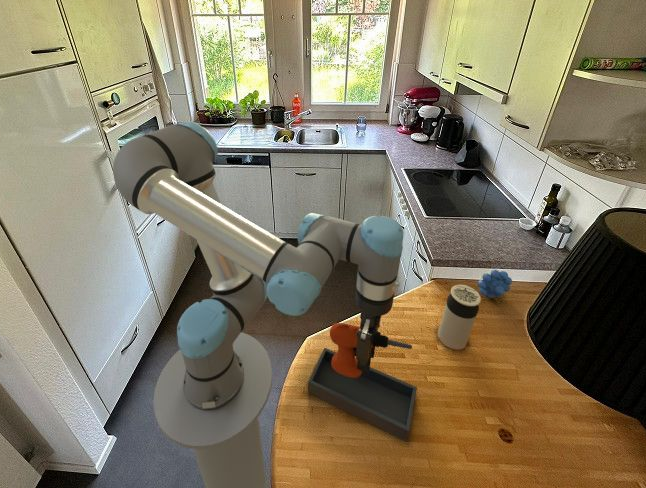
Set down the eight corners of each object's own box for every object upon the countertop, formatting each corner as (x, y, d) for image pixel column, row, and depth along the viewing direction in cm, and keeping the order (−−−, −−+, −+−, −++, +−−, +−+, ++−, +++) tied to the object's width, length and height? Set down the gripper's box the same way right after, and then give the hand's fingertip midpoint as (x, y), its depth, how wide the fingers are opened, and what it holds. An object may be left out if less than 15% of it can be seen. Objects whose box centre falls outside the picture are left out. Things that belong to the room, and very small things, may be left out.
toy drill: (410, 393, 71) (411, 347, 65) (329, 373, 78) (322, 329, 72) (412, 373, 75) (412, 328, 69) (334, 355, 82) (328, 312, 76)
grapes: (480, 308, 106) (490, 281, 100) (469, 292, 112) (478, 266, 106) (514, 305, 107) (525, 278, 101) (501, 290, 112) (511, 264, 107)
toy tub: (307, 392, 82) (307, 382, 80) (324, 357, 91) (324, 347, 88) (406, 442, 73) (409, 431, 70) (414, 397, 81) (417, 387, 79)
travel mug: (464, 355, 91) (480, 310, 83) (434, 342, 95) (447, 298, 86) (468, 334, 97) (483, 290, 89) (440, 322, 101) (452, 279, 92)
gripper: (383, 327, 56) (371, 403, 67) (402, 268, 69) (389, 340, 80) (343, 312, 59) (337, 387, 70) (368, 258, 72) (360, 329, 83)
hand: (365, 362), depth 75 cm, fingers closed on toy drill, 3 cm apart
